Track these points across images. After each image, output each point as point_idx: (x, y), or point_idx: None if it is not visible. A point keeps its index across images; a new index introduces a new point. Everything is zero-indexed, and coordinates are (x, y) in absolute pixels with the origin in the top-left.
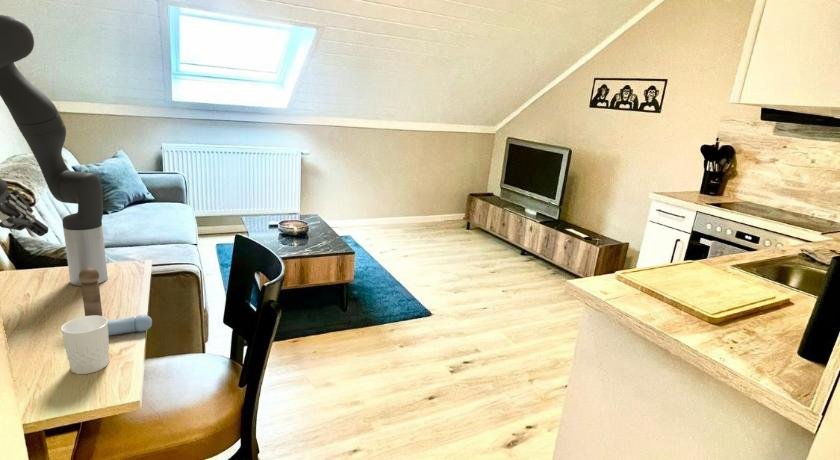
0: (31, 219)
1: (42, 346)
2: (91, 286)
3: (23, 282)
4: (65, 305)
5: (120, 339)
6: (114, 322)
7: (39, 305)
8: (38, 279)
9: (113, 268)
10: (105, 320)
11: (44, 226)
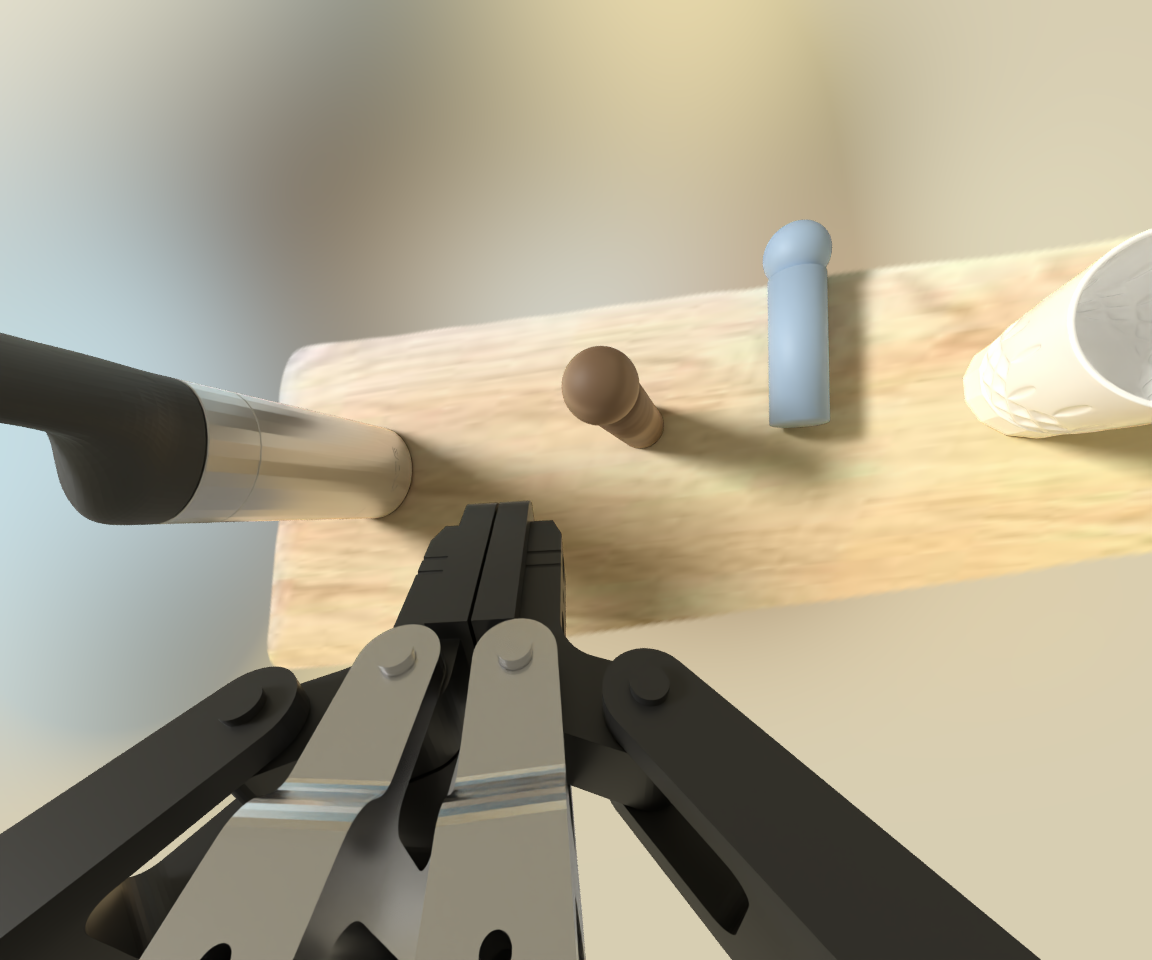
0: (520, 667)
1: (808, 539)
2: (640, 386)
3: (343, 629)
4: None
5: (842, 326)
6: (814, 324)
7: None
8: (334, 596)
9: None
10: (1137, 243)
11: (489, 528)
